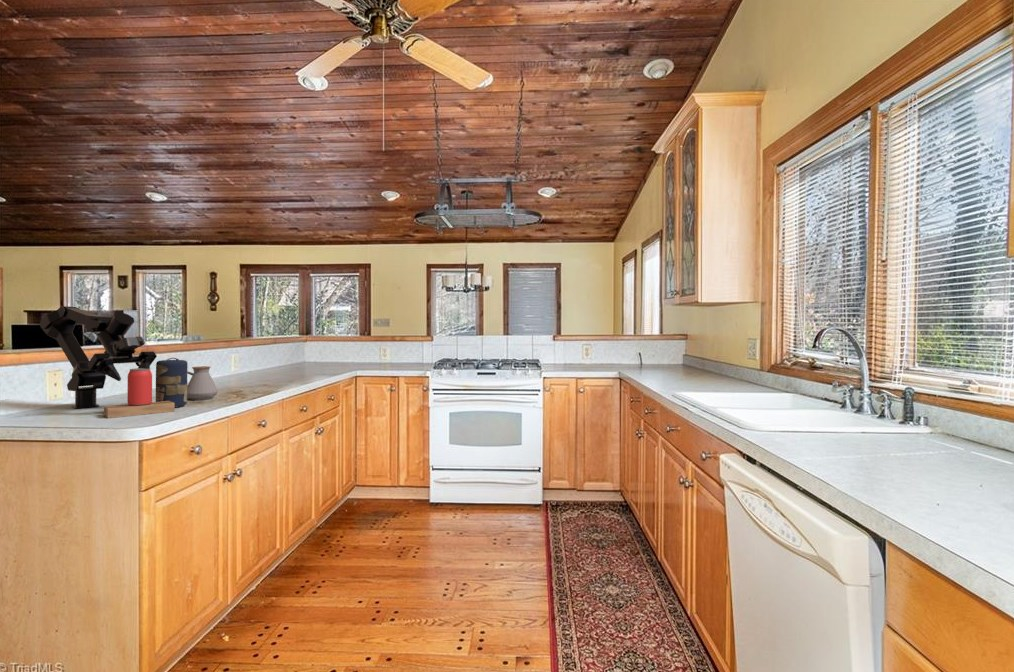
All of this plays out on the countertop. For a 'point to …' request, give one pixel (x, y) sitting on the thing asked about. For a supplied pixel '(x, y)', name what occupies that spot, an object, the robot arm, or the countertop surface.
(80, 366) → the robot arm
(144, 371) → the beer can
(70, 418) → the countertop surface
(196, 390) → the coffee pot
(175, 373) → the canister
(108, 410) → the walnut beam
